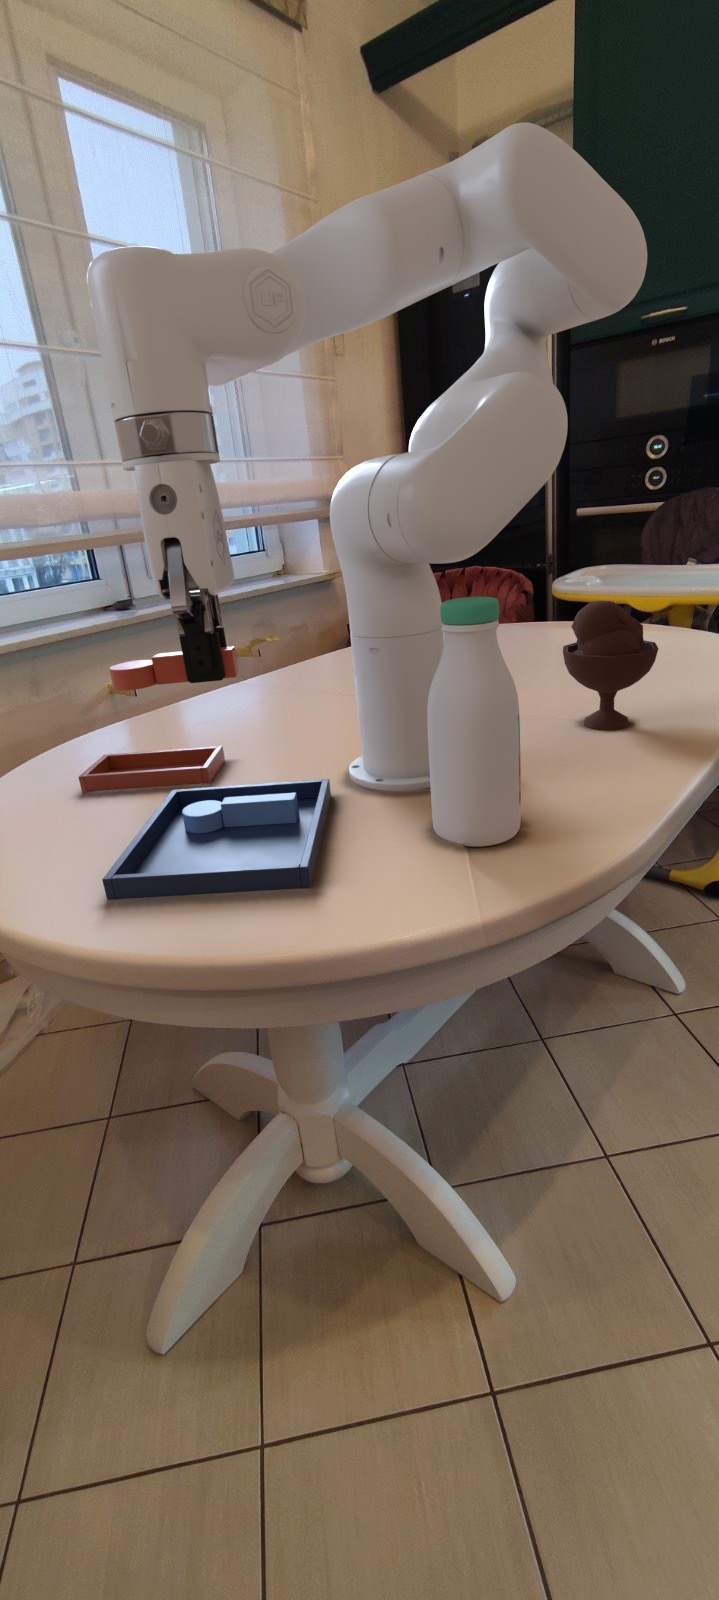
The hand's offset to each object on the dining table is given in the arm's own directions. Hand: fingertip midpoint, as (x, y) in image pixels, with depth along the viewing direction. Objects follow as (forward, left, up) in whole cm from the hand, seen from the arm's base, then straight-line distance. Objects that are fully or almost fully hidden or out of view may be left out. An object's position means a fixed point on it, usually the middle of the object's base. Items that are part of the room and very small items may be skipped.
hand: (209, 676), depth 63 cm
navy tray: (0, +3, -15) cm, 15 cm away
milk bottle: (-22, +3, -15) cm, 27 cm away
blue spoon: (0, -1, -15) cm, 15 cm away
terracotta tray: (+13, -17, -15) cm, 26 cm away
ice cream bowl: (-41, -26, -15) cm, 51 cm away
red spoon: (+3, 0, 0) cm, 3 cm away
